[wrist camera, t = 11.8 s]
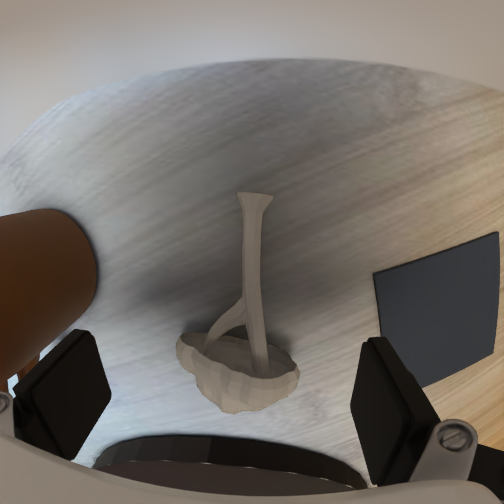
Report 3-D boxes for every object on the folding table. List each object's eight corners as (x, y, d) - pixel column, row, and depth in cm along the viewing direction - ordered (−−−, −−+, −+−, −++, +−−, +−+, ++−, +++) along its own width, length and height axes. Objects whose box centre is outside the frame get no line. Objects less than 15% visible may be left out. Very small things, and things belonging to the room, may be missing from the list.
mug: (115, 379, 19) (55, 473, 10) (38, 356, 19) (-30, 422, 10) (99, 207, 16) (-25, 240, 7) (15, 206, 16) (-90, 231, 7)
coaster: (372, 273, 16) (374, 275, 16) (496, 231, 15) (499, 231, 15) (385, 399, 18) (386, 401, 18) (491, 351, 17) (493, 353, 17)
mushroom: (322, 195, 11) (281, 448, 13) (325, 205, 16) (296, 402, 17) (164, 184, 13) (157, 412, 14) (206, 194, 18) (193, 378, 19)
